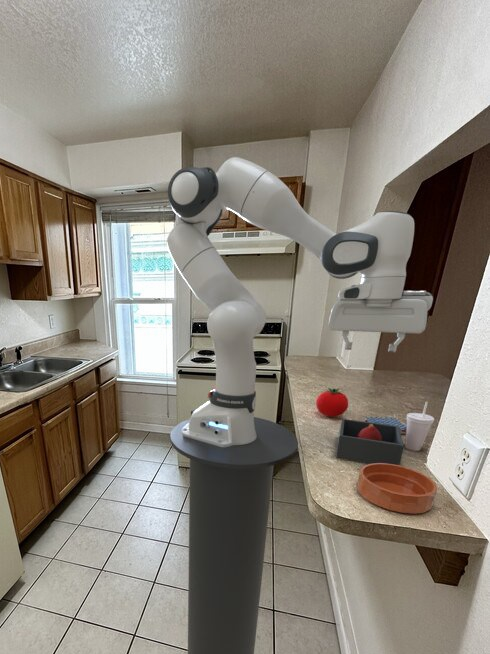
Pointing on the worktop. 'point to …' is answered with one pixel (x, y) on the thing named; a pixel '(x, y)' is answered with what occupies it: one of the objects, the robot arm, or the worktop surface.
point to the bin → (369, 443)
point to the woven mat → (388, 422)
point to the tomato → (332, 403)
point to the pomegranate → (370, 433)
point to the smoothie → (417, 429)
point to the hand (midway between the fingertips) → (369, 350)
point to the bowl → (396, 488)
